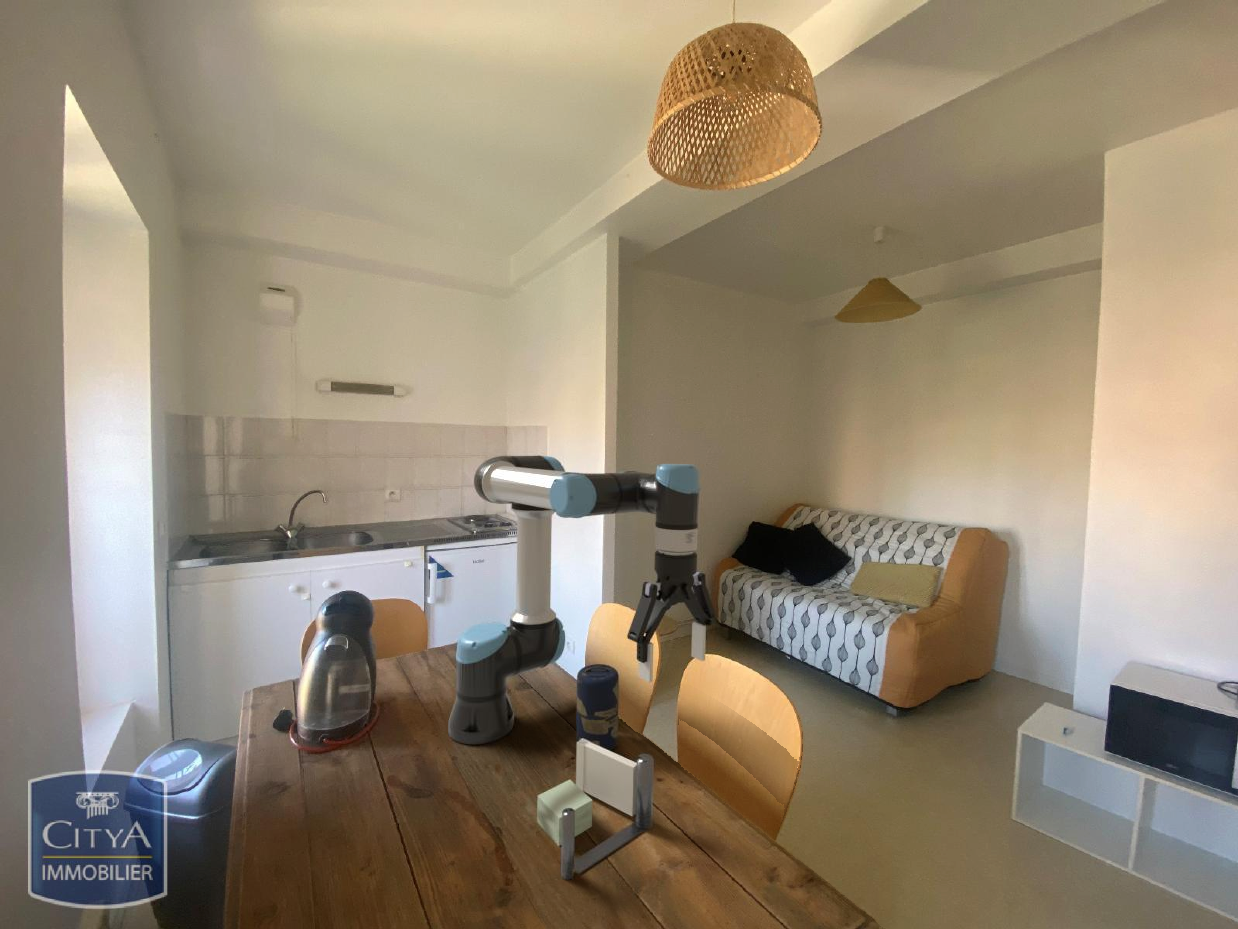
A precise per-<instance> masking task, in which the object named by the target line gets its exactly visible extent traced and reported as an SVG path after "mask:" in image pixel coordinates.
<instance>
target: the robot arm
mask: <svg viewBox="0 0 1238 929" xmlns="http://www.w3.org/2000/svg"><path fill="white" fill-rule="evenodd" d="M474 473H475V474H474V476H473V485H474V490H475V492H476V494H477V495H478V496H479V497H480V498H481V499H483V500H484V501H486V502H488V503H492V504H497V505H499V504H500V505H505V504H507V505H509V504H510V505H511V511H512V512H513V513H514V514H515V515H516V516H517V520H516V521H517V522H516V523H517V525H516V526H517V529H516V532H517V533H516V602H515V603H516V604H515V606H516V607H515V610H514V611H513V612H512V613H510V616H509V626H507V625H506V624H504V623H501V622H496V621H492V622H484V623H483V622H482V623H479V624H477V625H473V626H472V627H469V628H467V629H466V630H465V631H463V632H462V633H461V635H460V636H459V637H458V639H457V643H456V644H457V646H456V653H455V660H456V695H455V696H456V697H455V701H454V703H453V705H452V709H451V712H450V716H449V718H448V721H447V724H448V726H447V727H448V735H449V737H450V738H451V739H452V740H454V741H456V742H457V743H460V744H464V745H483V744H488V743H491V742H492V743H493V742H494V741H497V740H500V739H502V738H504V737H505V736H507V735H508V734H510V732H511V731H512V729H513V727H514V724H515V712H514V710H513V706H512V703H511V701H510V700H511V699H510V697H509V694H508V679H509V678H512V677H514V676H518V675H521V674H524V673H527V672H531V671H534V670H537V669H543V668H545V667H548V666H550V665H552V664H554V663H555V662H557V661H558V660H559V659H560V658H561V657H562V655H563V653H564V650H565V646H566V631H565V630H564V625H563V623H562V621H561V619H560V618H558V617H557V613H556V612H555V611H554V610H553V609H552V608H551V594H552V593H551V592H552V591H551V588H552V587H551V586H552V584H551V582H552V523H553V522H552V518H553V515H554V514H555V513H556V515H557V516H558V517H560V518H565V519H566V518H570V519H571V518H572V519H582V518H585V517H593V516H601V515H614V514H626V513H647V514H652V515H655V531H654V547H655V549H656V551H655V552H654V566H653V567H654V569H653V570H654V571H655V573H656V575H657V578H656V580H655V581H656V582H652V583H651V582H648V581H644V582H643V583H642V589H641V596H640V598H639V601H638V605H637V607H636V609H635V610H636V611H635V613H634V616H633V619H632V621H631V624H630V626H629V629H628V632H627V636H626V638H627V639H628V640H631V641H632V642H634V643H636V661H638V677H639V678H640V679H642V680H644V681H646V682H648V683H652V682H653V681H654V680H653V678H654V675H653V674H654V643H653V642H651V640H652V639H653V637H654V635H655V633H656V631H657V629H658V627H659V625H660V623H661V621H662V620H663V618H664V616H665V614H666V613H667V611H669V610H670V609H671V607H672V606H676V605H677V604H679V603H680V604H683V603H684V605H685V606H686V608H687V609H688V611H689V612H690V614H691V615H692V617H693V618H694V620H695V621H694V622H692V623H691V625H692V626H691V654H690V655H691V658H694V659H696V660H699V661H701V662H703V661H706V640H707V638H708V626H710V627H711V626H712V625H713V621H714V619H715V618H716V612H715V608H714V606H713V603H712V599H711V597H710V593H709V591H708V588H707V584H706V574H705V573H702V572H699V571H698V554H697V552H696V550H697V549H698V526H699V522H698V521H699V520H698V518H699V504H700V503H699V502H700V500H699V499H700V491H701V488H700V477H699V476H700V475H699V469H698V467H697V466H696V465H694V464H689V463H687V464H686V463H660V464H658V465H657V467H656V473H651V472H649V473H648V472H640V471H639V472H638V471H635V470H631V471H630V470H626V471H624V470H623V471H619V472H607V473H606V472H605V473H599V472H598V473H597V472H596V473H593V472H591V473H583V472H570V471H566V470H565V468H564V465H562V463H561V461H560V460H558V459H557V458H556V457H554V456H553V457H552V456H549V455H548V456H545V455H500V456H494V457H491V458H488V459H486V460H485V461H484V462H482V463H481V464H480V465H479V466H478V467H477V469H476V470H475V472H474Z"/></svg>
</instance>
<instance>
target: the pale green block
mask: <svg viewBox="0 0 1238 929" xmlns="http://www.w3.org/2000/svg"><path fill="white" fill-rule="evenodd" d="M566 808H572V809H574V811H575V837H577V836H579V835H580V834H583V832H585V831H587V830H588V829H590V828H592V827H593V799H592V798H591V797H590V796H588V795H587V794H586V792H584V791H582V790H581V789H580V788H579V787H578V786H576V783H574V782H573V780H571V779H568V780H565V781H563V782H562V783H560V784H557V785H556V786H554V787H552V788H550V789H548V790H546V791H545V792H542V793H540V794H538V795H537V806H536V810H537V811H536V812H537V813H536V823H537V824H538V825H539V826H540V827H541V828H542V829H543V831H544V832H545V833H546V834H547V835H548V836H549V837H550V838H551V839H552V841H554V843H555V844H556V845H557V847H560V846H562V811H563V810H564V809H566Z"/></svg>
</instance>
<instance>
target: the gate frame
mask: <svg viewBox="0 0 1238 929" xmlns="http://www.w3.org/2000/svg"><path fill="white" fill-rule="evenodd" d="M654 761H655V759H654V757H653V755H651V754H648V753H640V754H639V755H638V756H637V757H636V763H637V777H636V813H635V821H633V822H632V823H631V824H629V825H627V826H626V827H624V828H623V829H621V830H619V831H618V832H616V833H615V834H614V835H612V836H610V837H608V838H607V839H606V840H604V841H603V842H601V843H599V844H598V845H596V846H595V847H593V848H591V849H589V851H586V852H585V853H584V854H582V855H580V856H579V857H577V858H576V859H575V837H576V836H575V811H574V809H572V808H566V809H564V810H563V811H562V845H561V856H560V857H561V863H560V864H561V865H560V866H561V868H560V869H561V870H560V871H561V872H560V874H561V875H560V876H561V878H562V879H563V880H566V881H568V880H571V879H573V878H574V876H575V870H576V872H577V873H578V874H579V875H580V874H582V873H583V872H585V871H586V870H588V869H590V868H591V867H593V866H595V865H596V864H597V863H599V862H600V861H602V860H603V859H605V858H606V857H608V856H609V855H611V854H612V853H614V852H616V851H617V850H618V849H620V848H622V847H623V846H625V845H626V844H628V843H629V842H631V841H632V840H633V839H635V838H636V837H638V836H639V835H641V834H642V833H644V832H646V831H649V830H651V829H652V828H653V810H654V809H653V807H654V806H653V804H654V800H653V799H654V769H655V768H654V764H655V763H654Z"/></svg>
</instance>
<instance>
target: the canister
mask: <svg viewBox="0 0 1238 929" xmlns="http://www.w3.org/2000/svg"><path fill="white" fill-rule="evenodd" d="M618 672H619V671H618V670H617V669H616V668H614V667H613V666H611V665H609V664H605V663H604V664H603V663H602V664H600V663H593V664H589V665H586V666H584V667H582V668H581V669H580V670H579V671H578V672H577V675H576V738H575V739H576V743H577V742H578V741H580V740H581V739H582V738H583V739H585V740H588V741H590V742H591V743H593V744H595V745H598V746H600V747H602V748H604V749H607V750H609V751H611V752H612V750H614V749H615V747H616V746H617V744H618V742H619V741H618V739H619V708H620V707H619V705H620V704H619V702H620V699H619V698H620V696H619V695H620V692H619V691H620V690H619V688H620V685H619V684H620V683H619V682H620V681H619V680H620V679H619V678H620V676H619V673H618Z"/></svg>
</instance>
